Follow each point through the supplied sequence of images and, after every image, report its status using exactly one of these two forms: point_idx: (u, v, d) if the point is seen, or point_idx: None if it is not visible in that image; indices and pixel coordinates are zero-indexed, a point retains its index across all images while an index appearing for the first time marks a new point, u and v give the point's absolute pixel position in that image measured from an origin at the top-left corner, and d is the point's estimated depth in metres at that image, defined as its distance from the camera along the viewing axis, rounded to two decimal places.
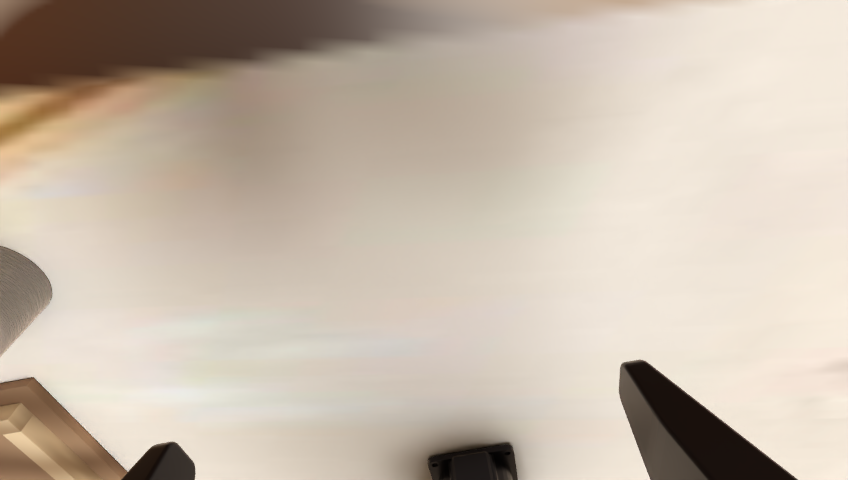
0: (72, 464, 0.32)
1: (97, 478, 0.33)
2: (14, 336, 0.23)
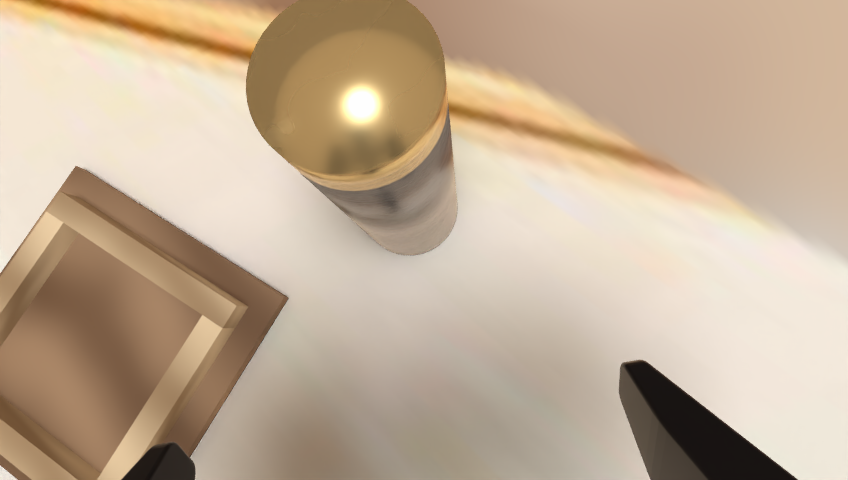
0: (173, 415, 0.22)
1: None
2: (419, 241, 0.20)
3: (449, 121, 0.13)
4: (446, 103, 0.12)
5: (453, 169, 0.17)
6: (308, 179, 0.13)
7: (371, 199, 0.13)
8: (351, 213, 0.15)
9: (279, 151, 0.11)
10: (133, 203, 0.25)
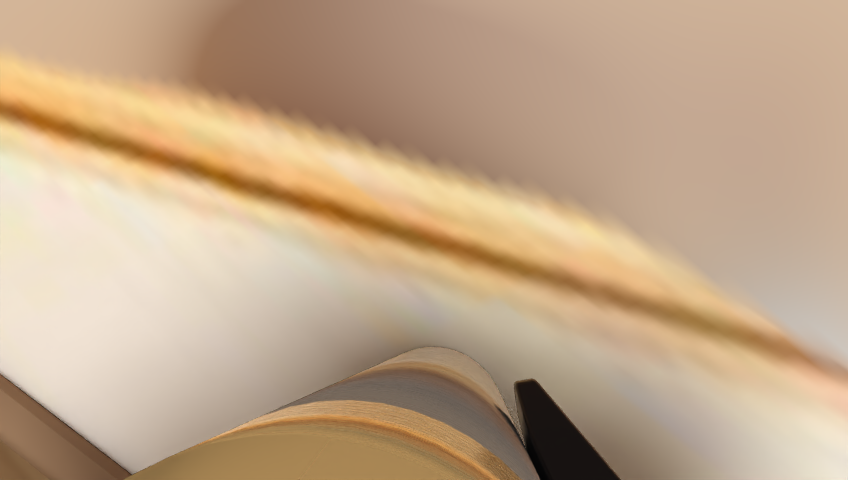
0: None
1: None
2: None
3: None
4: None
5: None
6: None
7: None
8: None
9: None
10: (15, 402, 0.16)
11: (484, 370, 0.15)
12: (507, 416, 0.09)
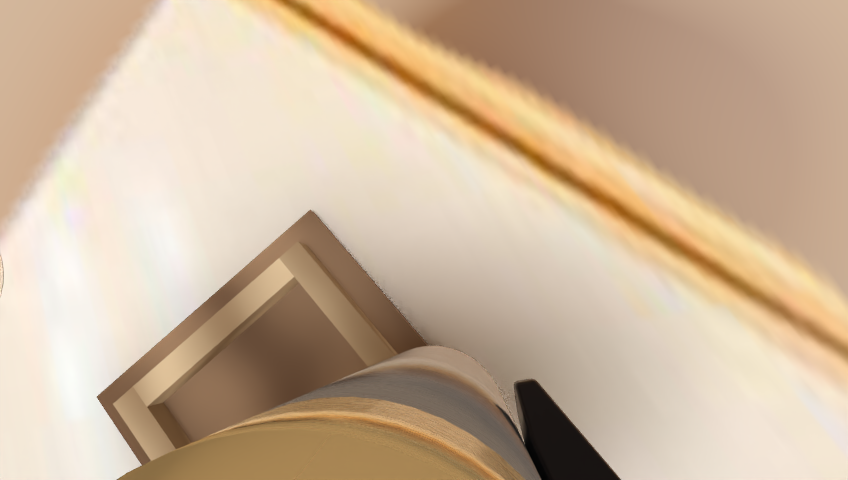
0: None
1: None
2: None
3: None
4: None
5: None
6: None
7: None
8: None
9: None
10: (361, 271, 0.23)
11: (484, 369, 0.15)
12: (507, 414, 0.09)
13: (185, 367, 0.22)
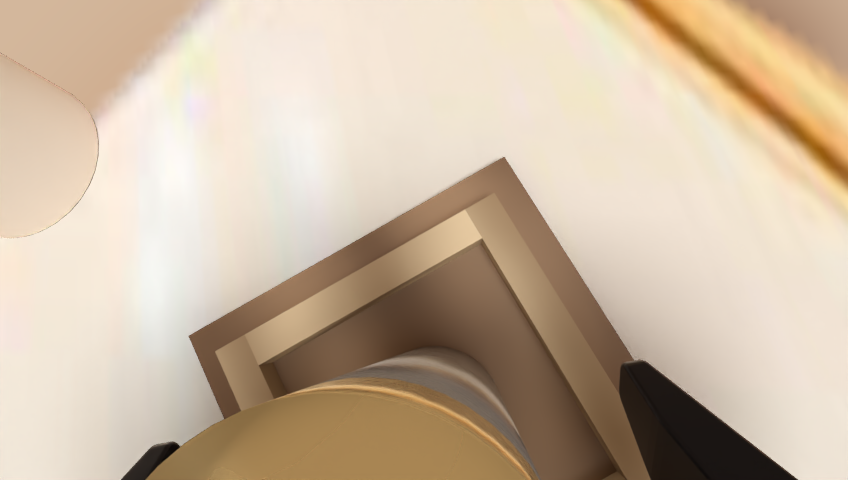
0: None
1: None
2: None
3: None
4: None
5: None
6: None
7: None
8: None
9: None
10: (561, 249, 0.17)
11: (483, 367, 0.16)
12: (502, 403, 0.10)
13: (317, 325, 0.16)
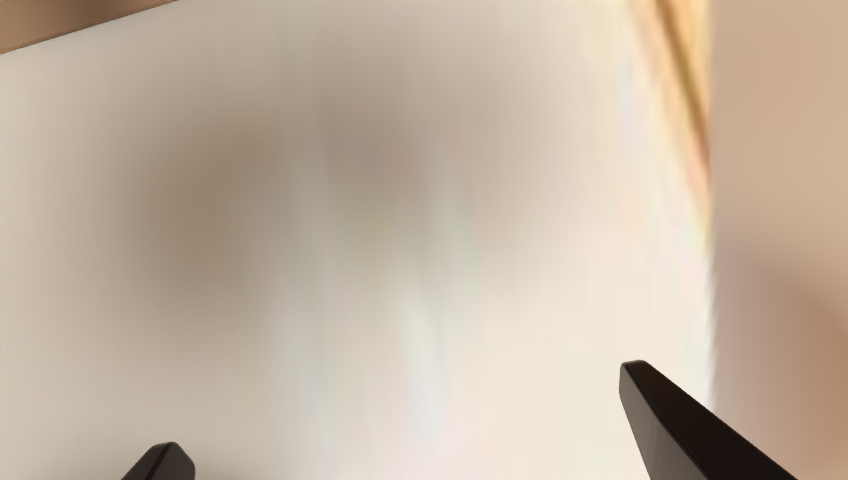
0: None
1: None
2: None
3: None
4: None
5: None
6: None
7: None
8: None
9: None
10: None
11: None
12: None
13: None
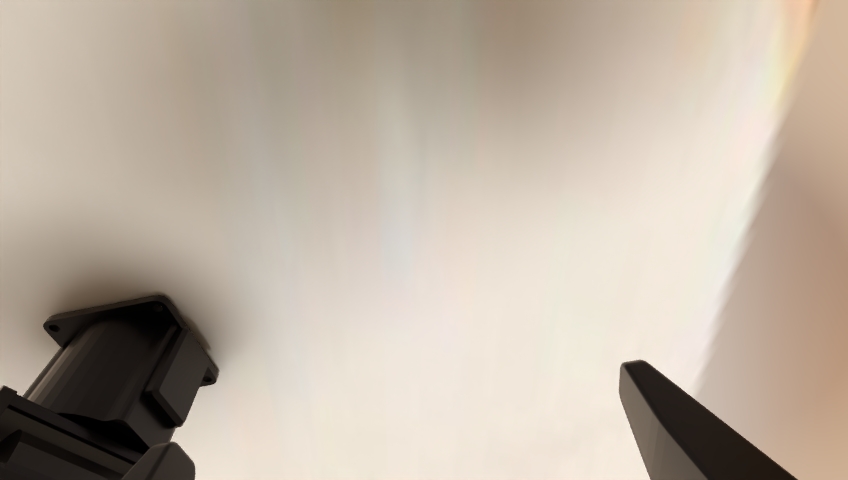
0: None
1: None
2: None
3: None
4: None
5: None
6: None
7: None
8: None
9: None
10: None
11: None
12: None
13: None
